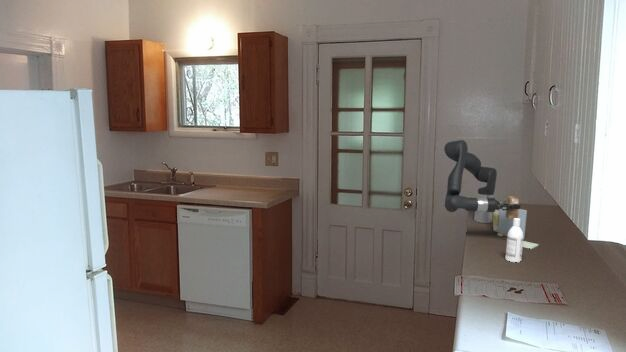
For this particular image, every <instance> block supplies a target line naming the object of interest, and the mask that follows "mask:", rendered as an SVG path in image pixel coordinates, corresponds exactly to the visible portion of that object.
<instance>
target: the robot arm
mask: <svg viewBox="0 0 626 352" xmlns="http://www.w3.org/2000/svg"><path fill="white" fill-rule="evenodd" d="M468 151H469V149H468V143H467V142H466V141H465V140H464V139H460V140H454V141H448V142H447V143H446V144H445V145H444V153H445V155H446V156H447V158H448V159H450V160H452V161H454V162H456V164H455V166H454V167H453V168H452V170H451V171H450V173H449V175H448V178H447V186H446V187H447V189H446V190H447V191H446V195H445V200H444V207H445V210H446V211H447V212H450V213H454V212H456V211H457V210H458V209H463V210H465V212H466V211H467V212H474V219H473V220H474V221H475V222H477V223H482V224H491V223H493V212H495V210H496V208H497V209H499V210H503V211H504V210H513V209H521V204H519V205H516V204H508V203H507V200H498V199H495V197H494V195H495V191H496V182H497V174H498V173H497V170H496V168H495V167H489V166H482V162H481V159H479V157H477V156H476V155H475V154H474V153H471V152H468ZM464 169H465V170H466V171H468V172H469V173H470V174H472V175H473V177H474V178H475V179H476V180H477V181H478V182H481V183H486V186H484V187H479V188H478V189H477V197H467V196H462V195H460V194H461V191H462V184H463V183H462V182H463V180H462V179H463V173H464ZM509 207H510V208H509Z"/></svg>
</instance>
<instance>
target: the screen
mask: <svg viewBox="0 0 626 352" xmlns="http://www.w3.org/2000/svg"><path fill="white" fill-rule="evenodd" d="M527 214H528V210H526V209H523V208H520V209H519V210H518V218H519V219H520V228H521V230H522V232H523V241H525V238H526V235H525V234H526V226H527V224H526V223H527V216H528V215H527ZM512 226H513V219H508V218H507V217H506V210H504V211H503V210H500V217H499V229H498V232H497V236H498V237H503V236H504V237H507V235H508V232H509V230H510V229H511V228H512Z"/></svg>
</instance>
